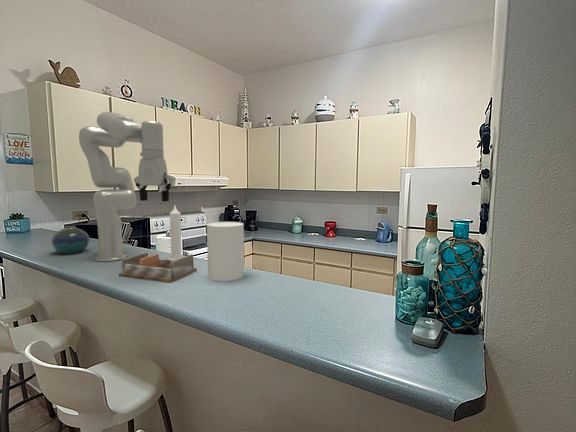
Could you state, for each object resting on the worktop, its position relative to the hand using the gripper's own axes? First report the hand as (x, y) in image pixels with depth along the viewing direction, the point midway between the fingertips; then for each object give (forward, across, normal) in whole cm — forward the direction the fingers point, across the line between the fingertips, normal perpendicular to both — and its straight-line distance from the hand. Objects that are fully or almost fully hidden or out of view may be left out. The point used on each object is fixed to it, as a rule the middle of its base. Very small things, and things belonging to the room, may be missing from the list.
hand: (154, 200), depth 121 cm
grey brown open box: (+28, +1, 0) cm, 28 cm away
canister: (+28, +27, +5) cm, 40 cm away
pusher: (+27, -3, 0) cm, 27 cm away
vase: (+29, -62, +17) cm, 71 cm away
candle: (+28, -4, +19) cm, 34 cm away
